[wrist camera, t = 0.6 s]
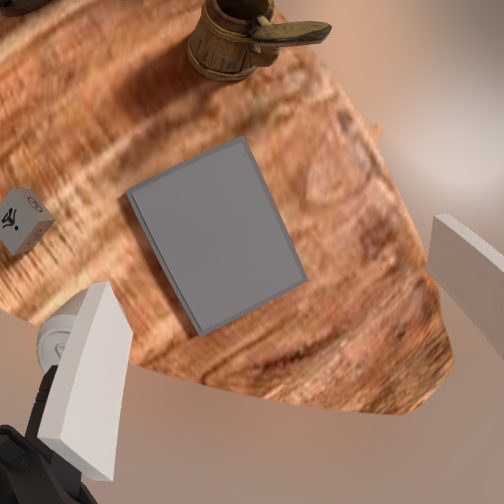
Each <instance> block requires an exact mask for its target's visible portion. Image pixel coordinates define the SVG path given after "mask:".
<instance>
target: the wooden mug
mask: <svg viewBox="0 0 504 504" xmlns="http://www.w3.org/2000/svg"><path fill="white" fill-rule="evenodd" d="M274 19H275V14H274V1H273V0H205V1H204V3H203V6H202V10H201V17H200V19H199V21H198V24H197V26H196V28H195V30H194V31H193V32H192V34H191V36H190V38H189V41H188V43H187V47H186V54H187V57H188V60H189V62H190V63H191V65H192V66H193V67H194V68H195V69H196V70H197V71H198V72H199V73H200V74H202V75H203V76H205V77H206V78H209V79H212V80H215V81H225V82H230V81H235V80H240V79H244V78H246V77H248V76H250V75H251V74H252V73H253V72H254V71H255V70H256V68H257V67H268V66H270V65H272V64H273V63H274V62H275V61H276V59H277V57H278V56H279V52H280V47H289V46H301V45H310V44H319V43H321V42H322V41H324V40H325V39H326V37H327V36H328V35H329V33H330V31H331V29H332V27H331V25H329V24H328V23H324V22H314V21H306V22H290V23H282V24H276V25H275V24H274Z"/></svg>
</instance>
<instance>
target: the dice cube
mask: <svg viewBox="0 0 504 504" xmlns="http://www.w3.org/2000/svg"><path fill="white" fill-rule="evenodd" d="M55 220H56V219H55V218H54V217H53V216H52V214H51V213H50V212H49V211H48V209H47V208H46V207H45V206H44V205H43V203H42V202H41V201H40V200H39V198H38V197H37V196H36V194H35V193H34V192H33V191H32V190H30V189H21V188H12V189H11V191H10V192H9V193H8V195H7V196H6V197H5V199H4V200H3V201H2V203H1V204H0V240H1V242H2V243H3V244H4V246H5V247H6V248H7V249H8V251H9V252H10V253H11V255H12V256H15V255H18V254H21V253H24V252H27V251H30V250H32V249H33V247H34V246H35V245H36V244H37V242H38V241H39V240H40V239H41V237H42V236H43V235H44V234H45V232H46V231H47V230H48V229H49V227H50V226H51V225H52V224H53V223H54V222H55Z"/></svg>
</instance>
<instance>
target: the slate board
mask: <svg viewBox="0 0 504 504" xmlns="http://www.w3.org/2000/svg"><path fill="white" fill-rule="evenodd" d="M125 192H126V195H127V197H128V199H129V201H130V203H131V206H132V208H133V210H134V212H135V214H136V216H137V218H138V220H139V222H140V225H141V227H142V229H143V231H144V233H145V235H146V237H147V239H148V241H149V243H150V245H151V247H152V249H153V251H154V253H155V255H156V257H157V259H158V261H159V263H160V265H161V267H162V269H163V270H164V272H165V274H166V276H167V278H168V280H169V282H170V284H171V286H172V288H173V289H174V291H175V293H176V295H177V297H178V299H179V300H180V302H181V304H182V306H183V308H184V310H185V311H186V313H187V315H188V317H189V318H190V320H191V322H192V324H193V326H194V327H195V329H196V331H197V332H198V334H199V336H200V337H201V336H203V335H205V334H207V333H209V332H211V331H213V330H215V329H217V328H219V327H221V326H223V325H225V324H227V323H229V322H231V321H233V320H235V319H237V318H239V317H241V316H243V315H245V314H247V313H249V312H251V311H252V310H254V309H256V308H258V307H260V306H262V305H264V304H266V303H268V302H270V301H272V300H273V299H275V298H277V297H279V296H281V295H283V294H285V293H287V292H288V291H290V290H292V289H294V288H296V287H298V286H300V285H301V284H303V283H305V282H307V281H308V278H307V276H306V274H305V271H304V269H303V267H302V264H301V262H300V260H299V257H298V255H297V252H296V250H295V248H294V246H293V243H292V241H291V239H290V236H289V234H288V232H287V229H286V227H285V225H284V223H283V220H282V218H281V216H280V213H279V211H278V209H277V207H276V204H275V202H274V200H273V198H272V196H271V193H270V191H269V189H268V187H267V184H266V182H265V180H264V178H263V176H262V173H261V171H260V169H259V167H258V165H257V163H256V160H255V158H254V156H253V154H252V152H251V150H250V148H249V145H248V143H247V141H246V139H245V137H244V135H243V136H241V137H238V138H236V139H233V140H231V141H229V142H226V143H224V144H222V145H219V146H217V147H215V148H212V149H210V150H208V151H206V152H203V153H201V154H199V155H197V156H194V157H192V158H190V159H188V160H186V161H184V162H181V163H179V164H177V165H175V166H173V167H171V168H169V169H167V170H165V171H163V172H161V173H159V174H157V175H155V176H153V177H151V178H149V179H147V180H145V181H143V182H141V183H139V184H137V185H135V186H133V187H131V188H129V189H127V190H125Z"/></svg>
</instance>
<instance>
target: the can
mask: <svg viewBox="0 0 504 504" xmlns="http://www.w3.org/2000/svg"><path fill="white" fill-rule="evenodd" d="M87 292H88V289H86V290H82V291H80V292H79V293H77V294H76V295H75V296H74V297H72V298H71V299H70V300H69V301H68V302H67V303H66V304H64V305H63V306H62V307H61V308H60V309H59V310H58V311H57V312H56V313H54V314H53V315H52V316H51V317H50V318H49V319H48V320H47V321H46V322H45V323H43V325H42V327H41V329H40V331H39V332H38V338H37V356H38V362H39V364H40V366H41V368H42V370H43V372H44V373H45V374H46V372H47V371H48V370H49V368H50V367H51V366H52V365H59V363H60V360H61V357H62V354H63V351H64V349H65V346H66V343H67V341H68V338H69V335H70V333H71V330H72V328H73V325H74V323H75V320H76V318H77V315H78V313H79V310H80V308H81V305H82V303H83V301H84V298H85V296H86V294H87ZM117 301H118V300H117ZM118 303H119V301H118ZM119 305H120V308H121V310H122V312H123V314H124V316H125V318H126V314H125V312H124V309H123V307H122V305H121V304H120V303H119ZM126 320H127V318H126Z"/></svg>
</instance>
